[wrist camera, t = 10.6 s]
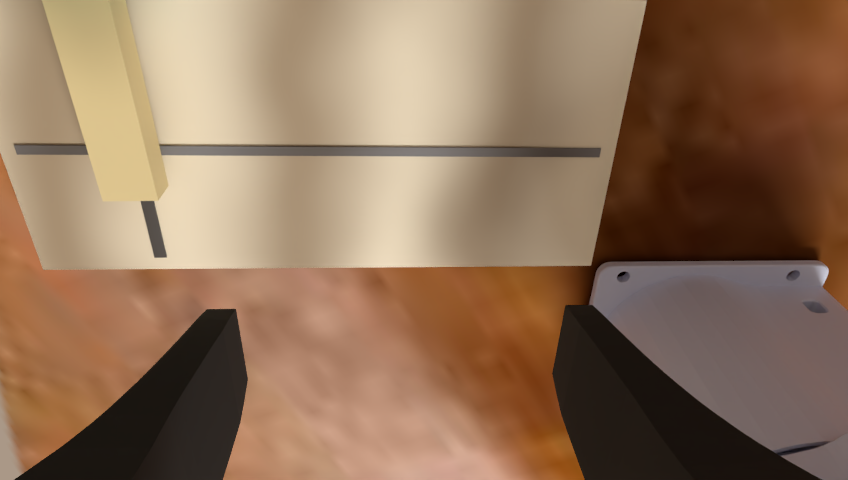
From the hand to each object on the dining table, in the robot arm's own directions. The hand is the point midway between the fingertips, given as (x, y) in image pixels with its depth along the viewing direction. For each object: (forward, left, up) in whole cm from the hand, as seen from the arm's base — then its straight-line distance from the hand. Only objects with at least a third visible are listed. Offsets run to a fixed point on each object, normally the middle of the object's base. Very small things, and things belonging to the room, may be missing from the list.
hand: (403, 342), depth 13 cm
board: (+2, -2, -9) cm, 10 cm away
